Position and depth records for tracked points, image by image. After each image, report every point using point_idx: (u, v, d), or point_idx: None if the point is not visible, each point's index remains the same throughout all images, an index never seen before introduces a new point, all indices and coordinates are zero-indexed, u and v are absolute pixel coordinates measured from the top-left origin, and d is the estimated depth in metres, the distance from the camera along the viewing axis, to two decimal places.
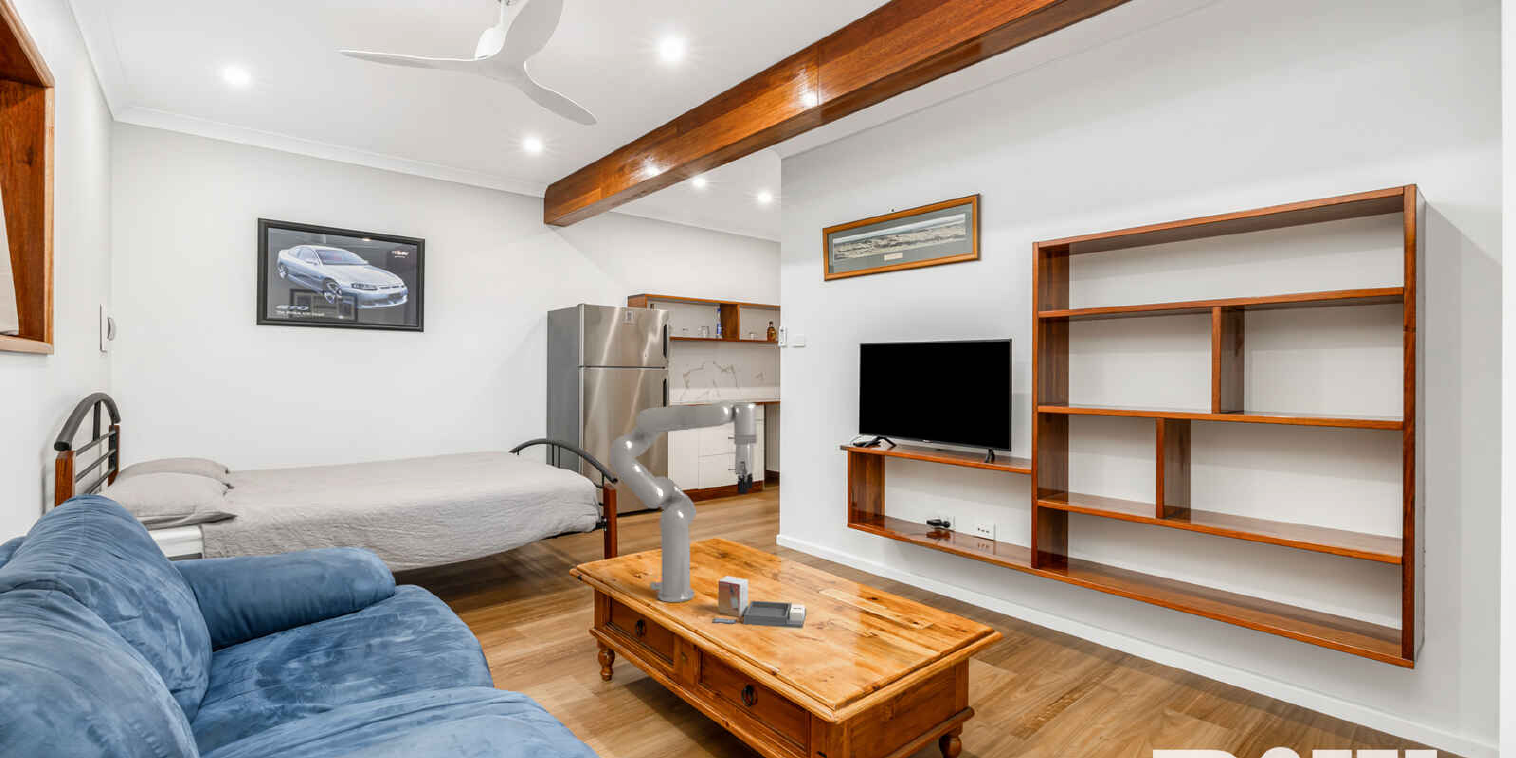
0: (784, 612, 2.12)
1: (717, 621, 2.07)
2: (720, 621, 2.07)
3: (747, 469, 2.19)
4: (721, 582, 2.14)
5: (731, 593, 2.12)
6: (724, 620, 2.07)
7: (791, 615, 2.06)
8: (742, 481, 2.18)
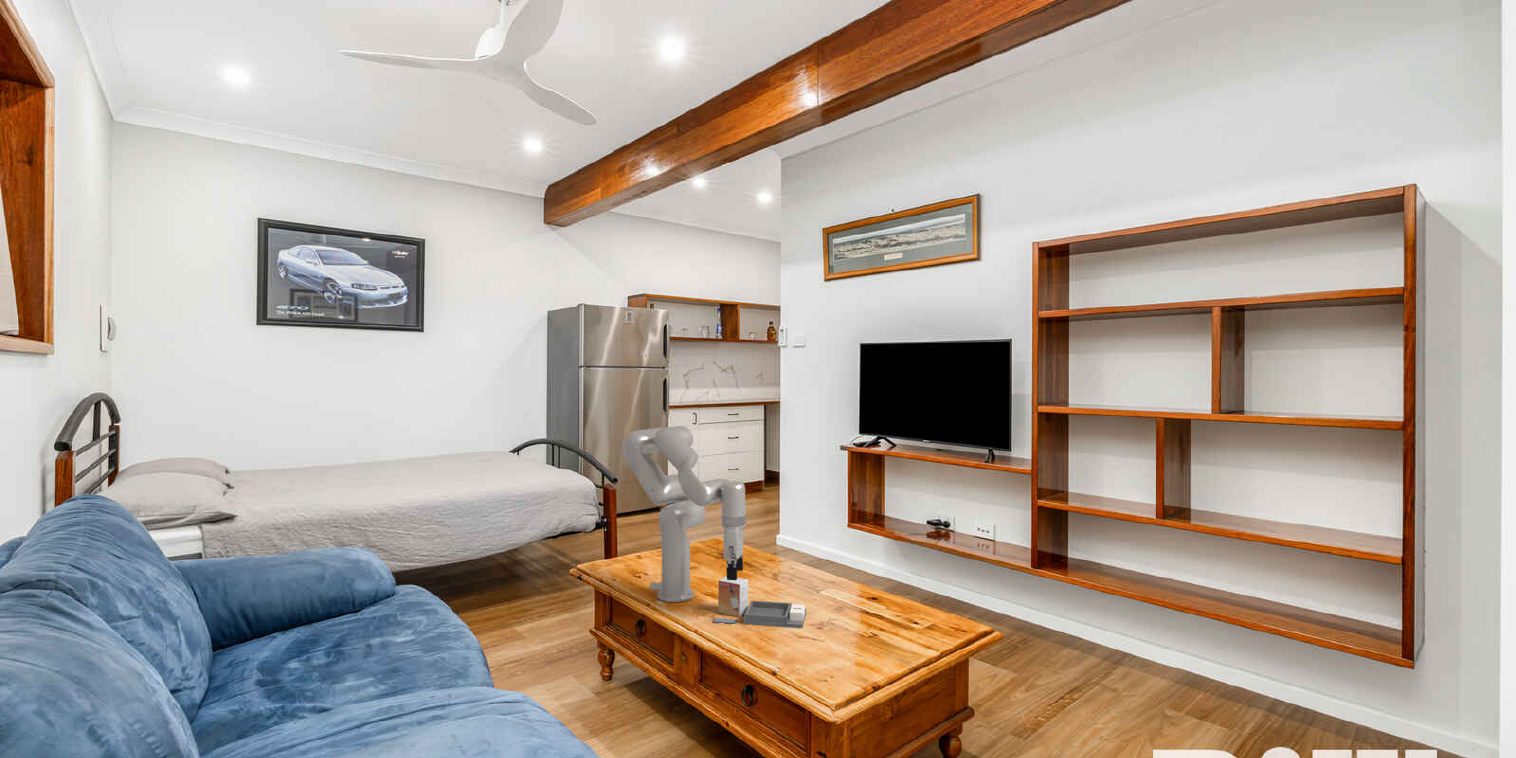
0: (784, 612, 2.12)
1: (717, 621, 2.07)
2: (720, 621, 2.07)
3: (736, 554, 2.09)
4: (721, 582, 2.14)
5: (731, 593, 2.12)
6: (724, 620, 2.07)
7: (791, 615, 2.06)
8: (731, 567, 2.08)
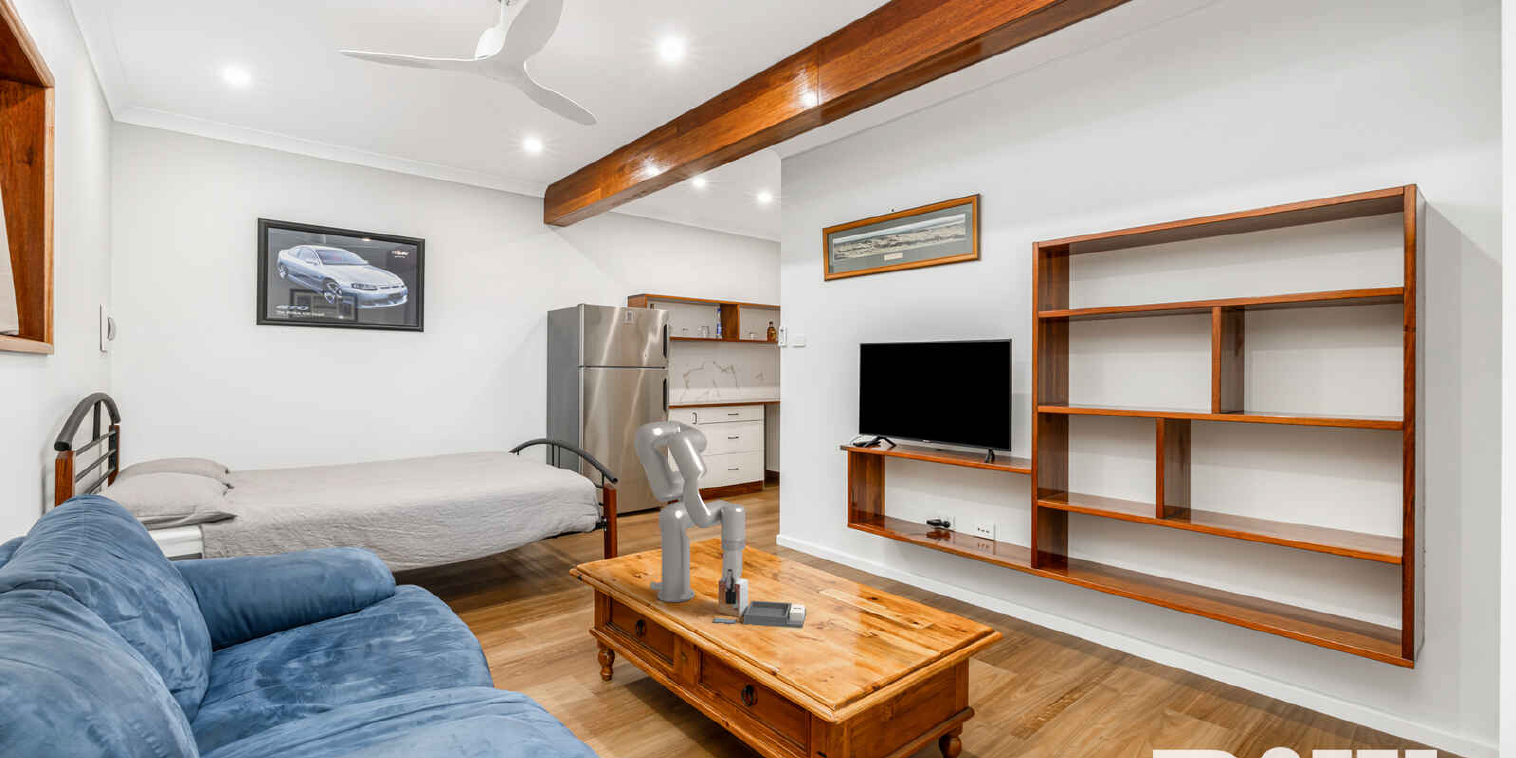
0: (784, 612, 2.12)
1: (717, 621, 2.07)
2: (720, 621, 2.07)
3: (735, 579, 2.10)
4: (721, 582, 2.14)
5: None
6: (724, 620, 2.07)
7: (791, 615, 2.06)
8: (730, 591, 2.10)
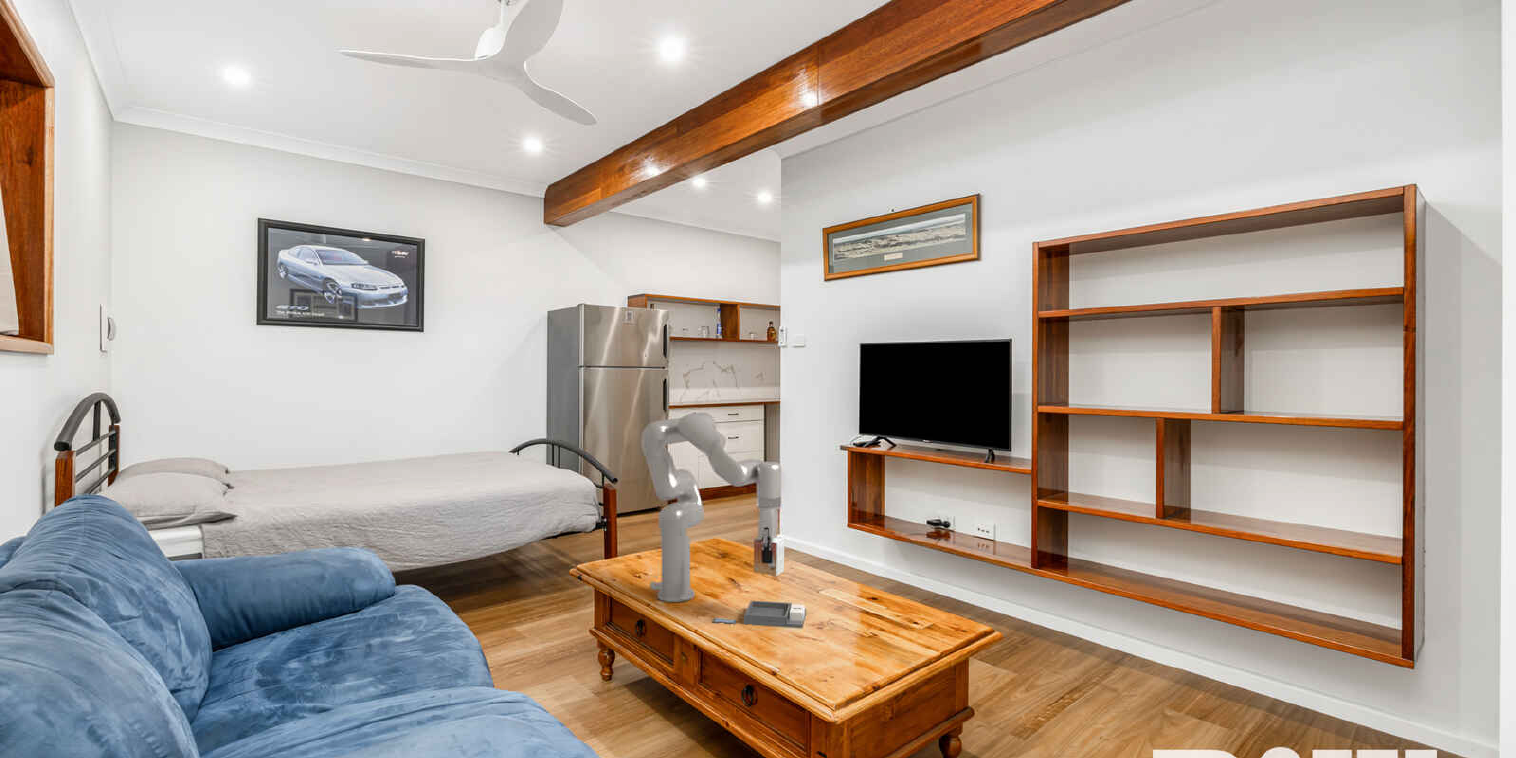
0: (784, 612, 2.12)
1: (717, 621, 2.07)
2: (720, 621, 2.07)
3: (771, 537, 2.05)
4: (757, 541, 2.09)
5: None
6: (724, 620, 2.07)
7: (791, 615, 2.06)
8: (767, 550, 2.05)
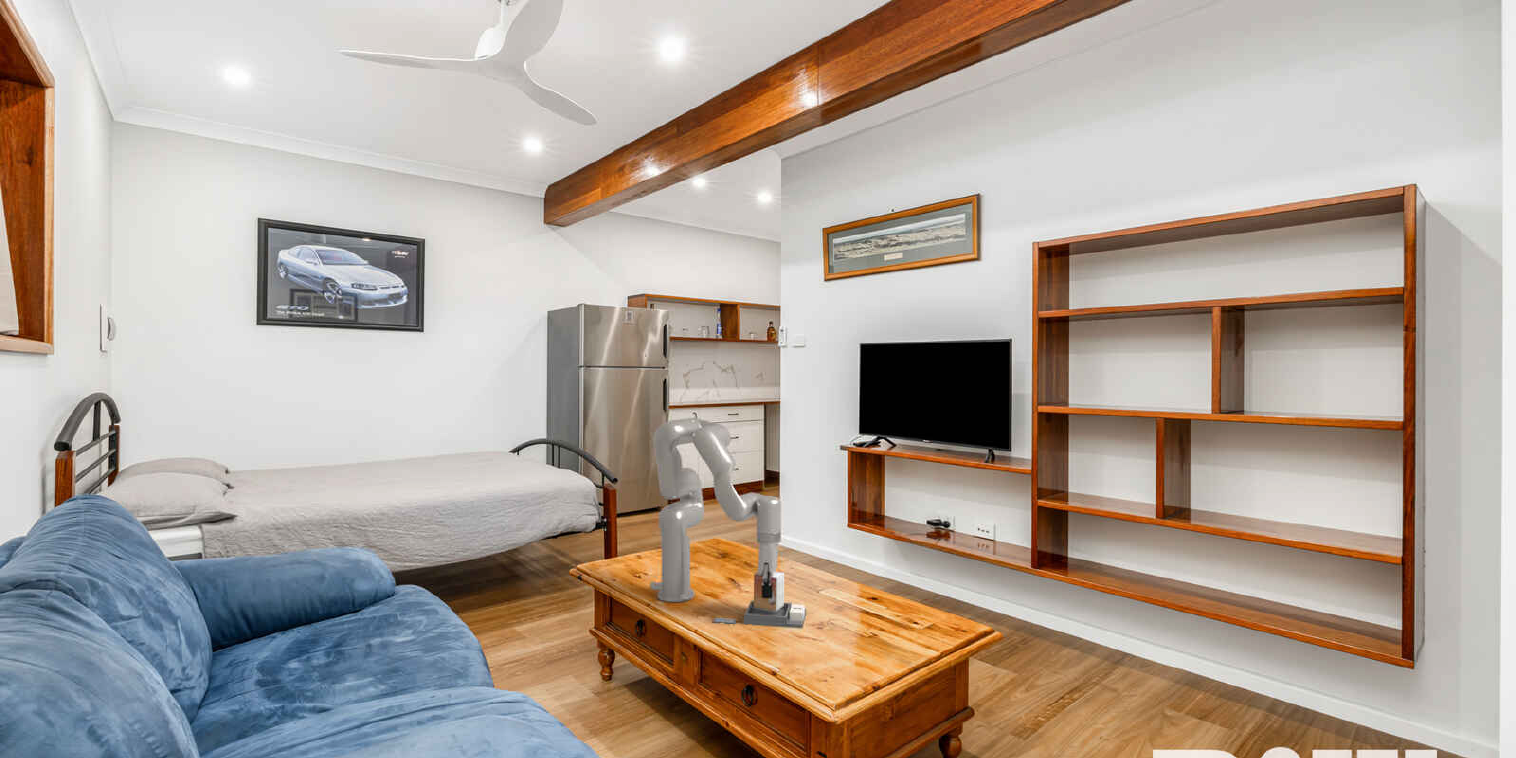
0: (784, 612, 2.12)
1: (717, 621, 2.07)
2: (720, 621, 2.07)
3: (771, 572, 2.06)
4: (757, 576, 2.09)
5: None
6: (724, 620, 2.07)
7: (791, 615, 2.06)
8: (766, 585, 2.06)
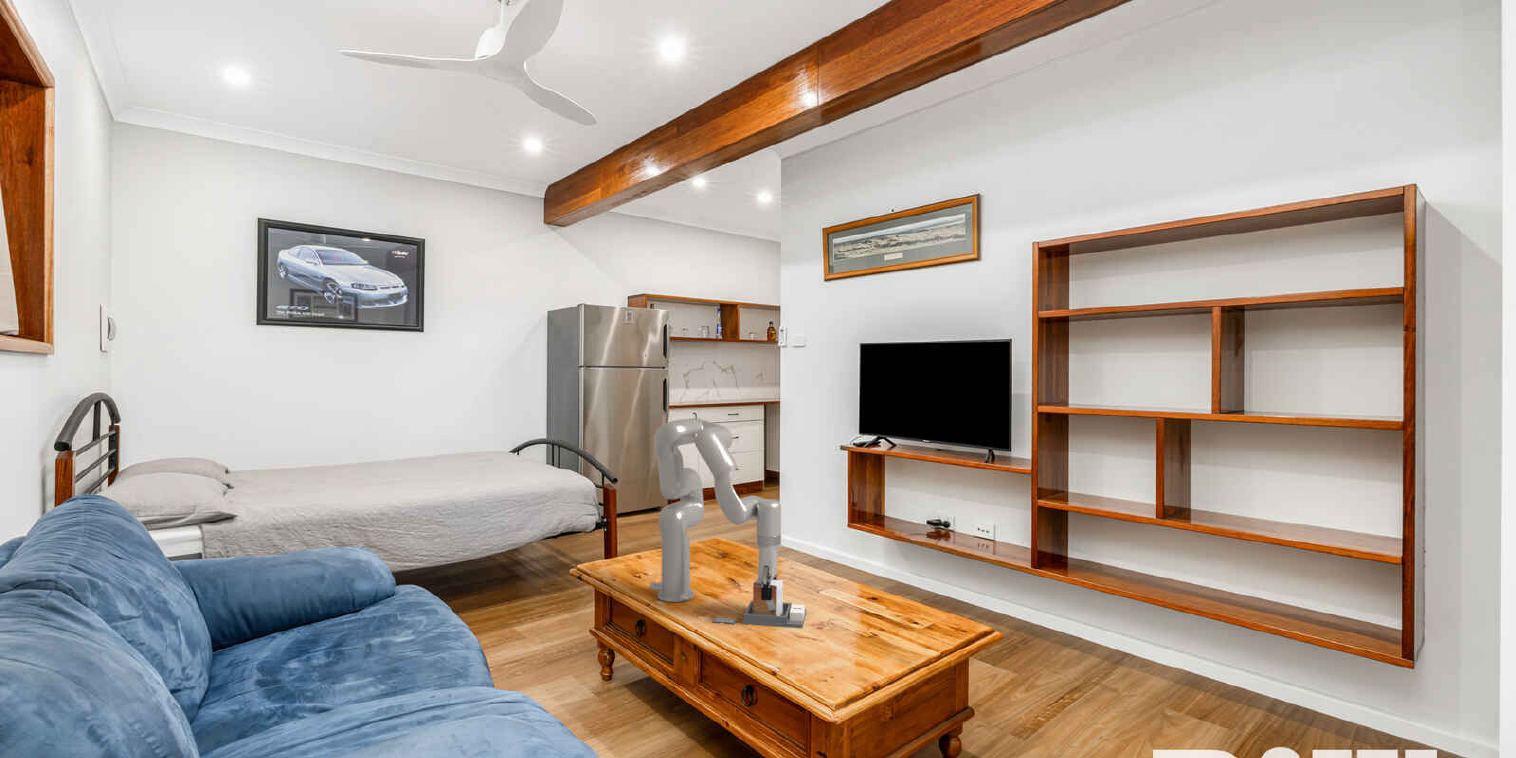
0: (784, 612, 2.12)
1: (717, 621, 2.07)
2: (720, 621, 2.07)
3: (771, 574, 2.05)
4: (756, 584, 2.09)
5: None
6: (724, 620, 2.07)
7: (791, 615, 2.06)
8: (766, 587, 2.04)
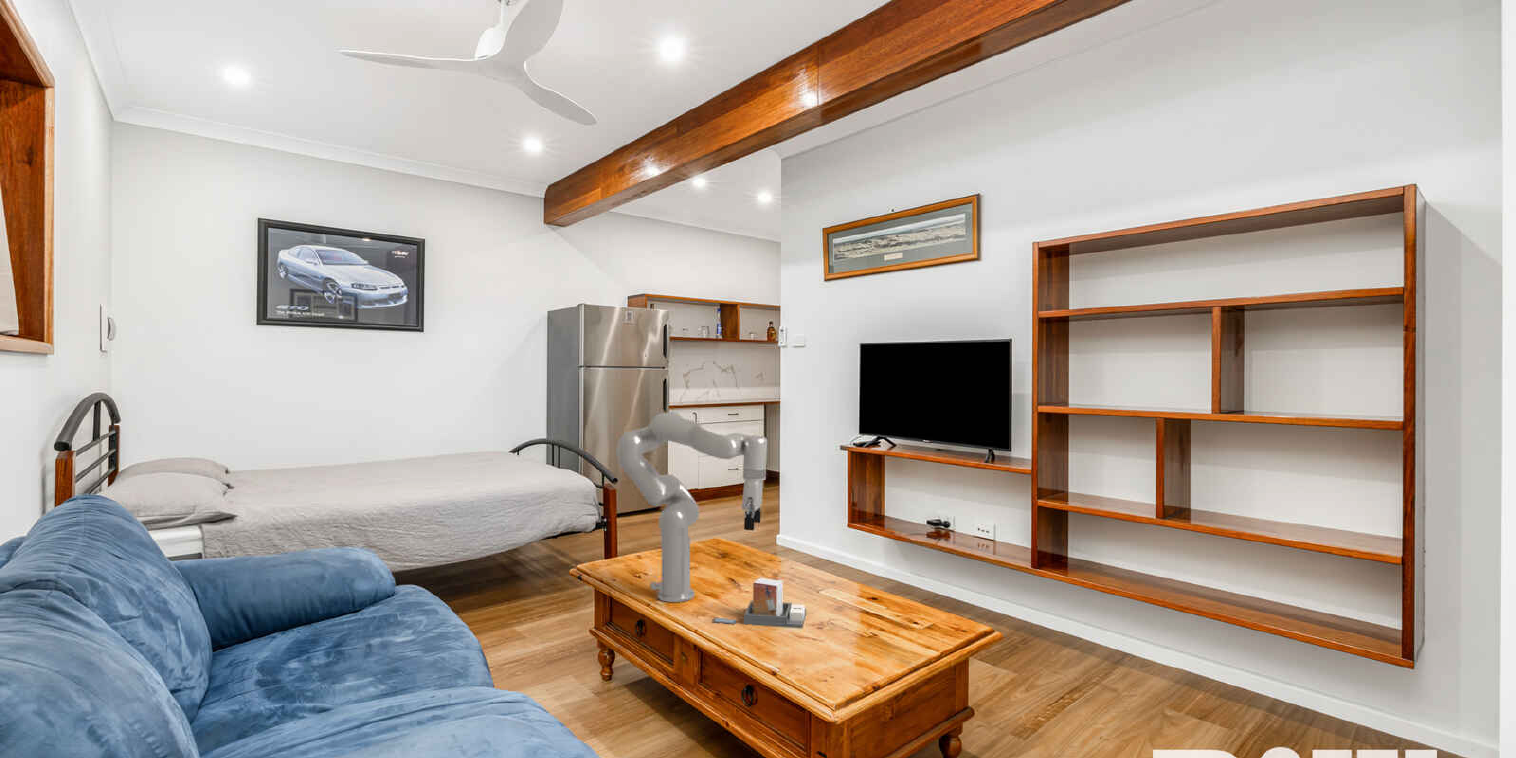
0: (784, 612, 2.12)
1: (717, 621, 2.07)
2: (720, 621, 2.07)
3: (754, 505, 2.15)
4: (756, 584, 2.09)
5: (767, 595, 2.07)
6: (724, 620, 2.07)
7: (791, 615, 2.06)
8: (749, 517, 2.15)
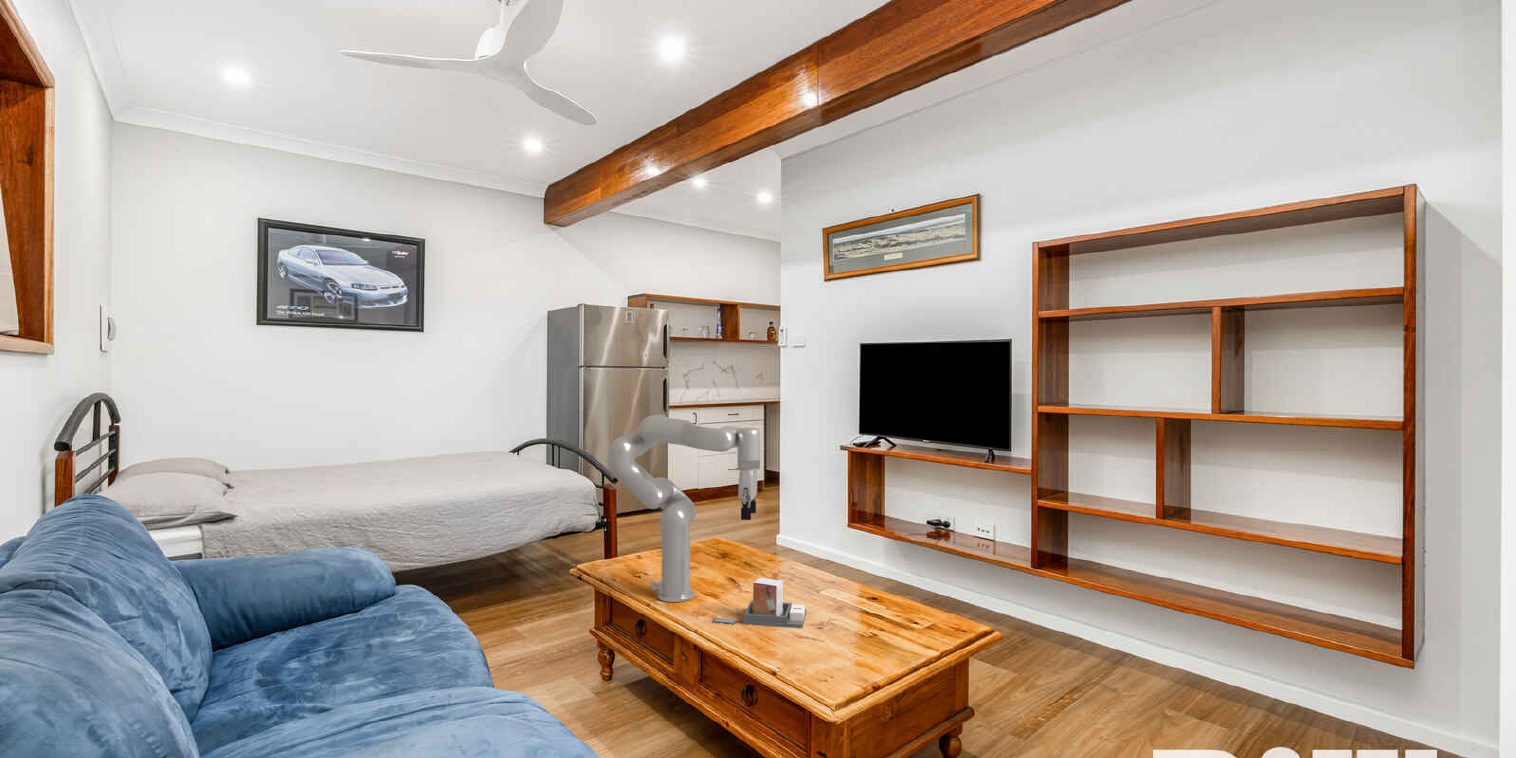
0: (784, 612, 2.12)
1: (717, 621, 2.07)
2: (720, 621, 2.07)
3: (750, 495, 2.19)
4: (756, 584, 2.09)
5: (767, 595, 2.07)
6: (724, 620, 2.07)
7: (791, 615, 2.06)
8: (745, 507, 2.19)
